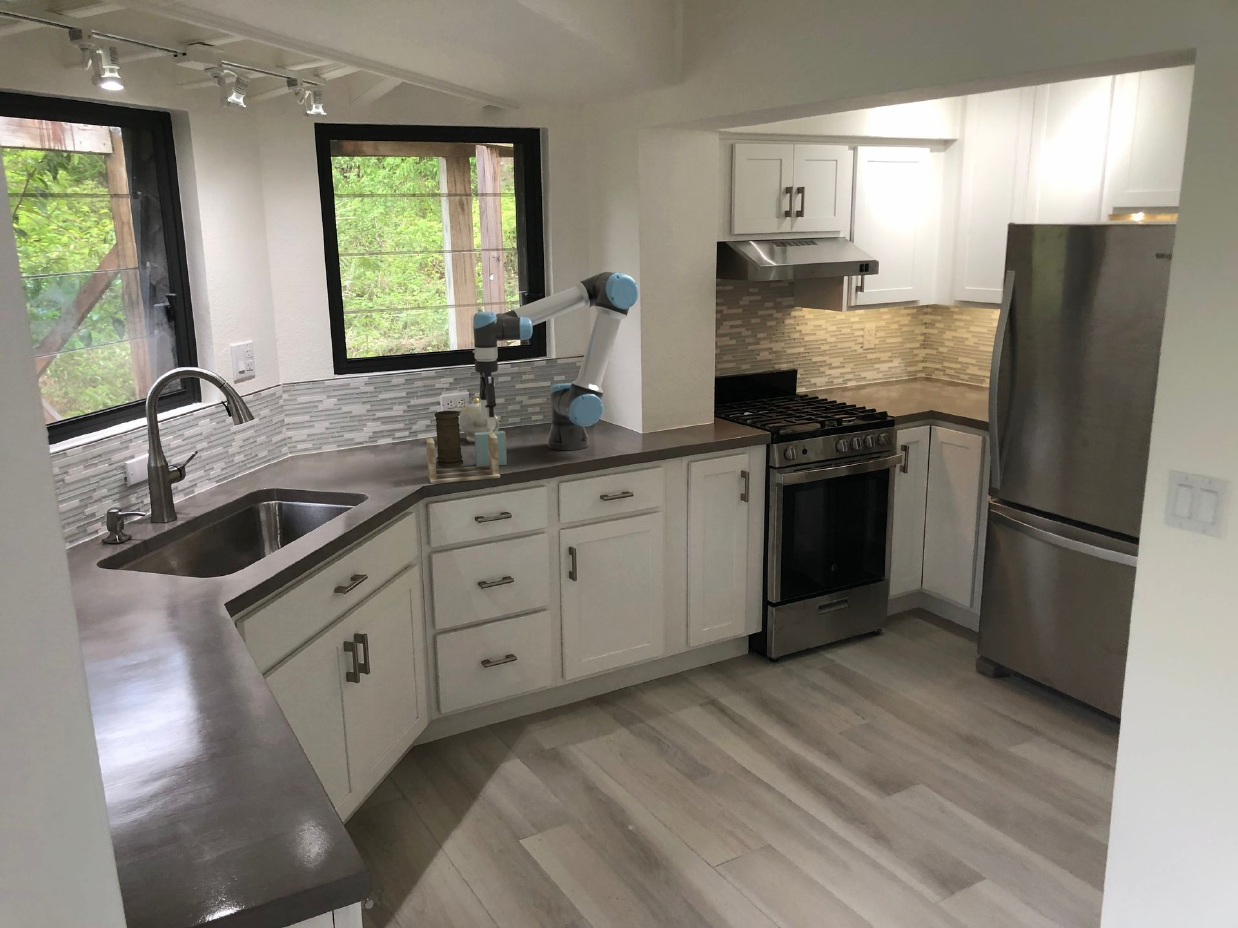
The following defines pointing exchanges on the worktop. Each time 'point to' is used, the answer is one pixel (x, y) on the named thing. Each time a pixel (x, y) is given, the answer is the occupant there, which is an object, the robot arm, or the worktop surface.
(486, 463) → the door panel
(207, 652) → the worktop surface
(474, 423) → the teapot
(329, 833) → the worktop surface
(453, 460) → the container
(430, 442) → the wooden rack
